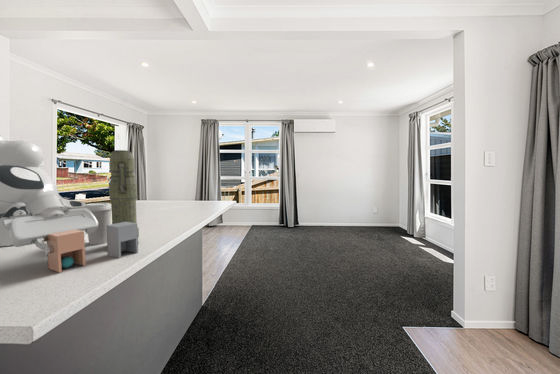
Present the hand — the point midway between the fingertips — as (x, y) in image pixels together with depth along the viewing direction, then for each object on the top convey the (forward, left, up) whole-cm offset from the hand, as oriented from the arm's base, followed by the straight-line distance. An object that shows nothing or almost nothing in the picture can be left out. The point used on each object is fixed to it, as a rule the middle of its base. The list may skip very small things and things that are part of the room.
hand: (67, 248), depth 75 cm
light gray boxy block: (+1, +15, -6) cm, 16 cm away
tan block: (-1, 0, -5) cm, 5 cm away
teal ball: (-1, 0, -4) cm, 4 cm away
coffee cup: (-21, +19, -6) cm, 29 cm away
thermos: (-9, +22, -6) cm, 24 cm away
